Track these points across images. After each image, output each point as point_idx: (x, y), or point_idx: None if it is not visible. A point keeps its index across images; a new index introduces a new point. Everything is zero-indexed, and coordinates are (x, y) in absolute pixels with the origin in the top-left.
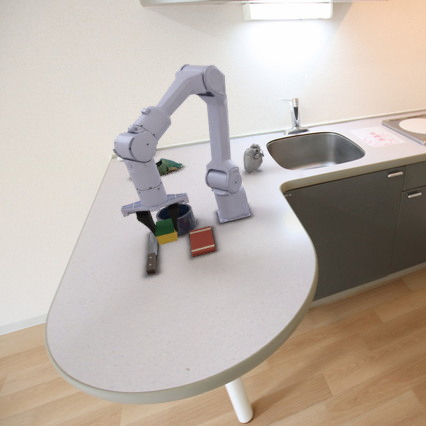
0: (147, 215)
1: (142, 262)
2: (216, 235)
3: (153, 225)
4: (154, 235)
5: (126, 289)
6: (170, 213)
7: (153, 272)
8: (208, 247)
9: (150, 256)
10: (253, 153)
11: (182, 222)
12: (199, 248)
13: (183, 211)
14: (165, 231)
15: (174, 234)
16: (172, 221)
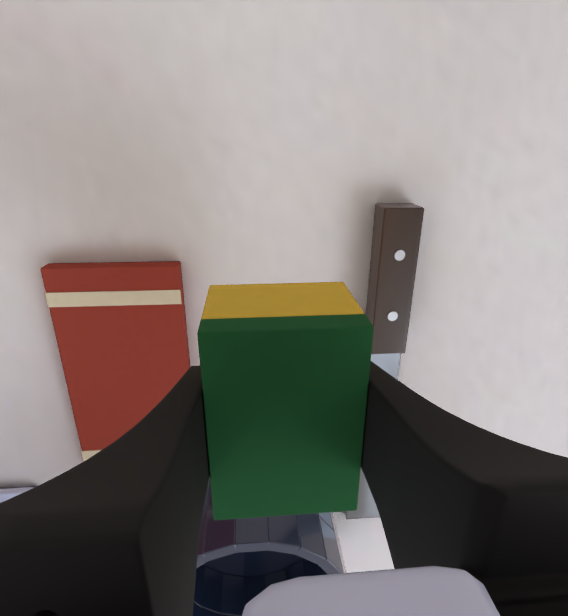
0: (479, 541)
1: (428, 319)
2: (56, 397)
3: (383, 438)
4: (375, 364)
5: (520, 129)
6: (127, 501)
7: (386, 203)
8: (81, 293)
9: (393, 327)
10: None
11: (214, 522)
12: (135, 303)
13: (219, 609)
14: (277, 334)
15: (210, 310)
16: (184, 423)
